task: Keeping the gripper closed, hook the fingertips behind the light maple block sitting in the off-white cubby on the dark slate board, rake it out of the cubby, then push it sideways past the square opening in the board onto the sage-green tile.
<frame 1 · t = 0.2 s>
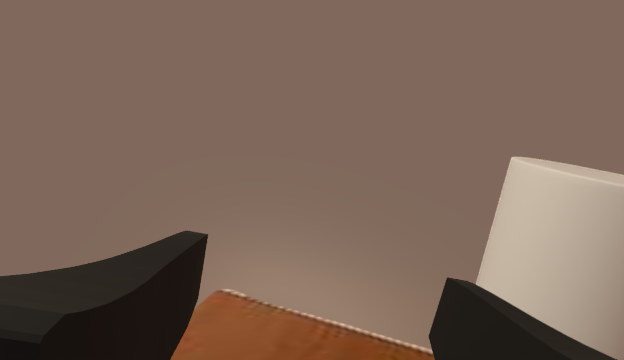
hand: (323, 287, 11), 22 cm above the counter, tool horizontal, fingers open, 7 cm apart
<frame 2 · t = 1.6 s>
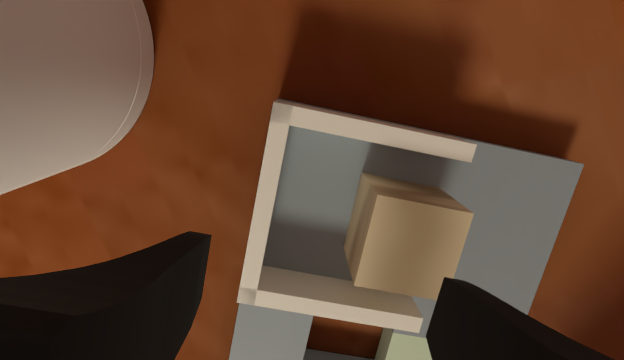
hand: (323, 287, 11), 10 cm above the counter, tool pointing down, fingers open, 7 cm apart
cubby: (342, 199, 21), resting on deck
block: (390, 217, 20), point 2 cm above the counter, touching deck
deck: (384, 275, 22), on the counter
cylinder: (25, 44, 19), on the counter
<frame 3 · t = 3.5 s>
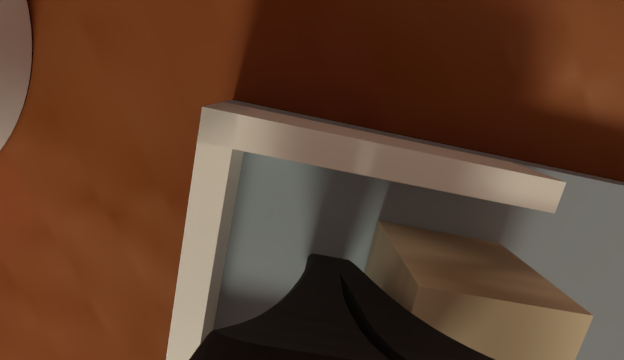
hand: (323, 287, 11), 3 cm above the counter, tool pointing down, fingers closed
cubby: (332, 253, 14), resting on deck
block: (422, 289, 13), point 2 cm above the counter, touching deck, gripper
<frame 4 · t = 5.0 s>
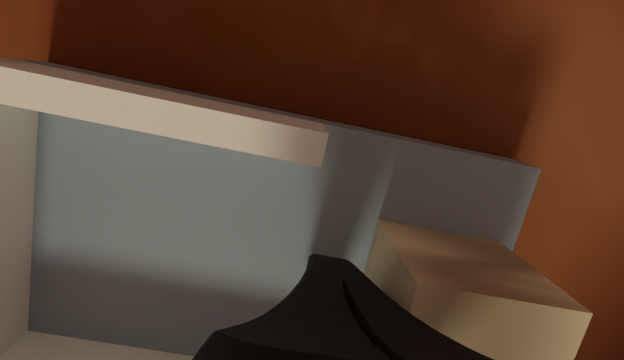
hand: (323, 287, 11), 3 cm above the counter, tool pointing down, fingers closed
cubby: (169, 224, 14), resting on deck
block: (422, 287, 13), point 2 cm above the counter, touching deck, gripper
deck: (247, 336, 15), on the counter
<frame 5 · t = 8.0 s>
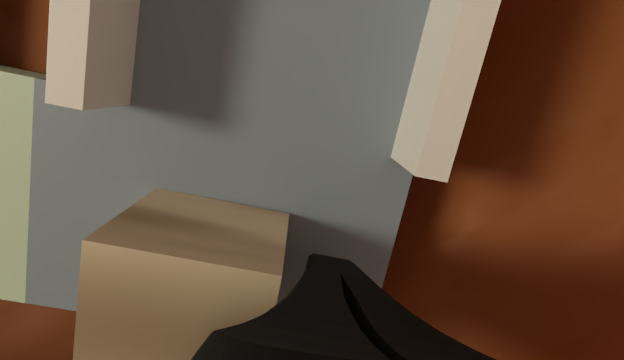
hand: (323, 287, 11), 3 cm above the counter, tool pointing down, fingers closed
block: (213, 261, 12), point 2 cm above the counter, touching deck, gripper
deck: (150, 71, 12), on the counter
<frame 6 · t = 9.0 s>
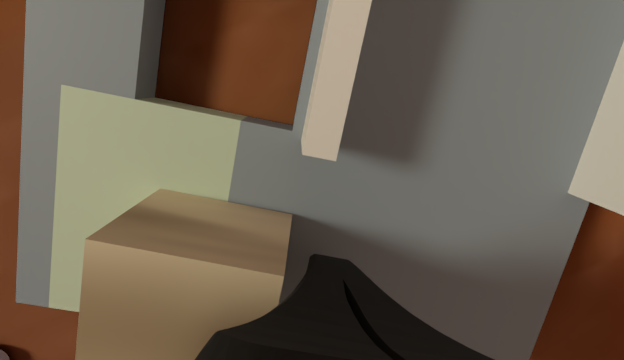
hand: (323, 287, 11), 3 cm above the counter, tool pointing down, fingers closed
cubby: (470, 26, 12), resting on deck
block: (216, 262, 12), point 2 cm above the counter, touching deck, gripper
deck: (327, 108, 13), on the counter
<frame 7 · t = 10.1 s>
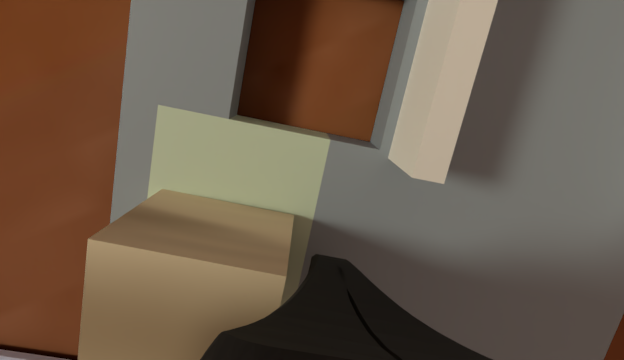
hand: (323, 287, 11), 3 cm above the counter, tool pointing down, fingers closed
cubby: (547, 46, 13), resting on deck
block: (218, 262, 12), point 2 cm above the counter, touching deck, gripper
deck: (404, 126, 13), on the counter
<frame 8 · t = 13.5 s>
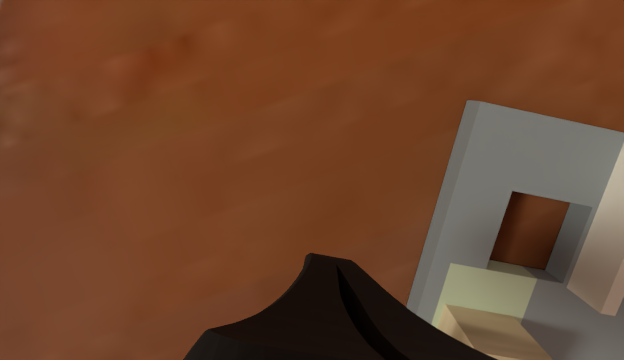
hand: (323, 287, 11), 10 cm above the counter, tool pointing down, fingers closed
block: (468, 340, 22), point 2 cm above the counter, touching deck
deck: (565, 261, 23), on the counter
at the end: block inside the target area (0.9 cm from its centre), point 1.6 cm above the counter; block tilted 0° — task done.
